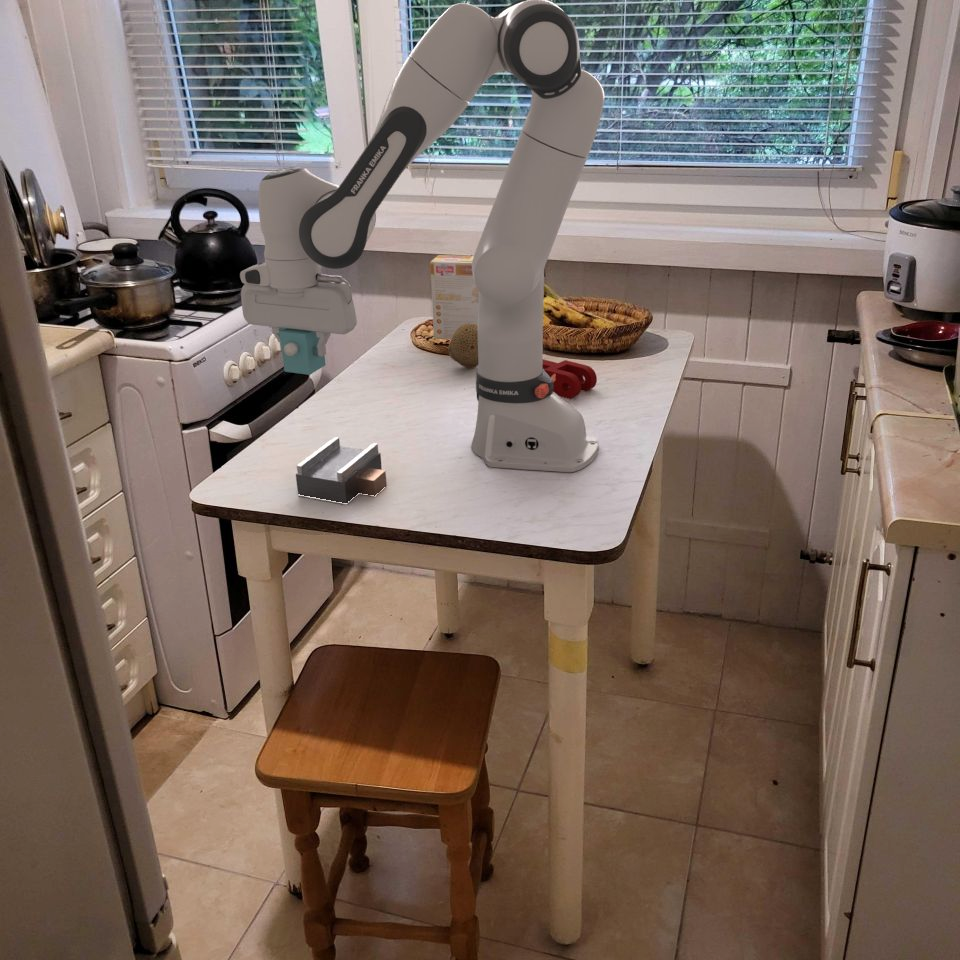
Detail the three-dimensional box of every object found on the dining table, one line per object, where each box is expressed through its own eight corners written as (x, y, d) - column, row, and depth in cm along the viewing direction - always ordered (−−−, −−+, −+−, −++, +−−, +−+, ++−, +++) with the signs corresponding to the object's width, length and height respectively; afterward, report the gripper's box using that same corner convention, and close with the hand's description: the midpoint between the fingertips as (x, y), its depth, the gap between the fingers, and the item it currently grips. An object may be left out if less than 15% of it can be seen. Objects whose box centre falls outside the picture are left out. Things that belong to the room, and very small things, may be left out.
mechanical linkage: (596, 391, 198) (597, 368, 195) (575, 401, 193) (576, 378, 191) (534, 374, 207) (534, 352, 205) (513, 384, 202) (513, 361, 200)
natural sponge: (496, 373, 208) (495, 328, 203) (455, 377, 206) (453, 332, 202) (486, 360, 216) (484, 316, 211) (446, 364, 214) (444, 320, 209)
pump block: (325, 365, 166) (321, 325, 163) (305, 377, 161) (300, 337, 158) (300, 362, 168) (296, 322, 165) (279, 374, 163) (274, 334, 160)
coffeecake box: (502, 338, 229) (501, 255, 220) (496, 348, 223) (494, 263, 214) (441, 335, 232) (437, 253, 224) (433, 344, 226) (429, 261, 218)
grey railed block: (397, 476, 164) (395, 446, 161) (363, 508, 154) (360, 476, 152) (335, 466, 168) (332, 436, 166) (298, 496, 158) (294, 465, 156)
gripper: (359, 272, 157) (366, 354, 163) (253, 263, 164) (264, 342, 170) (339, 281, 152) (347, 366, 158) (231, 272, 159) (242, 353, 165)
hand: (303, 353), depth 164 cm, fingers closed on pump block, 5 cm apart
